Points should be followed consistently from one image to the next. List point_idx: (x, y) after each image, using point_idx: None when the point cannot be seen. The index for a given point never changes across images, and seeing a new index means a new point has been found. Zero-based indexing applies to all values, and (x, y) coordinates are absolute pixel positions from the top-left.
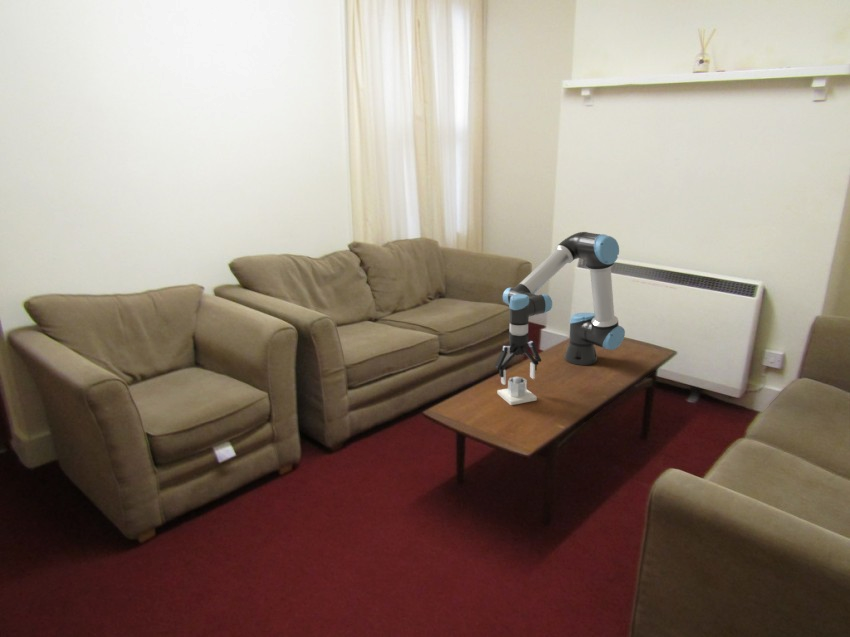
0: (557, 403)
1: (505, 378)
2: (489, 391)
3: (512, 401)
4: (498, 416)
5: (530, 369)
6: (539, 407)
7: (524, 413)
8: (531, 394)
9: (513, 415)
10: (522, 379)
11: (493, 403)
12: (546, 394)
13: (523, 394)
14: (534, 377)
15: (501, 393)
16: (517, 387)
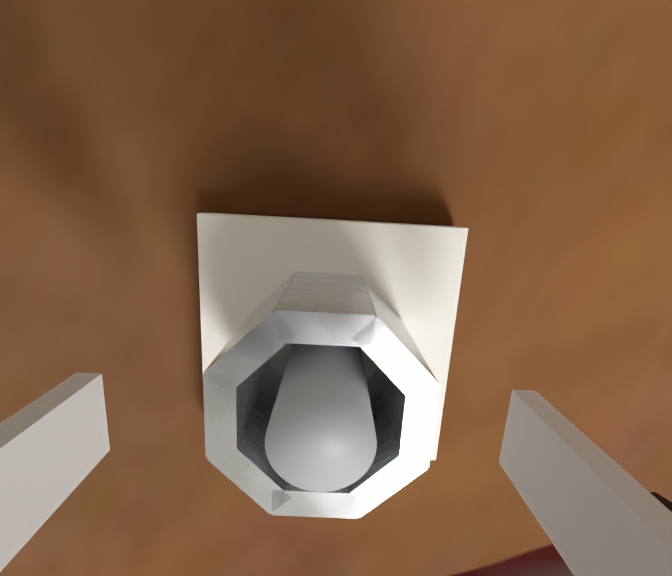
0: (62, 81)
1: (578, 450)
2: (451, 491)
3: (451, 229)
4: (666, 97)
5: (13, 542)
6: (254, 86)
7: (440, 41)
8: (217, 278)
9: (547, 52)
10: (238, 424)
11: (547, 320)
12: (76, 277)
13: (305, 276)
14: (65, 384)
15: (440, 400)
16: (378, 310)
